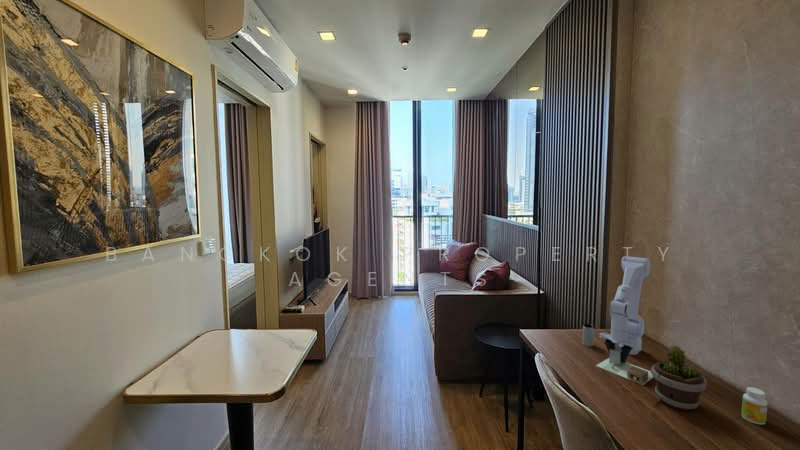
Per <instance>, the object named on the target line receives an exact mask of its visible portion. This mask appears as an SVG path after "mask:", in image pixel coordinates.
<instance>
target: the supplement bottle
mask: <svg viewBox="0 0 800 450" xmlns="http://www.w3.org/2000/svg"><path fill="white" fill-rule="evenodd" d="M768 406H769V405H768V401H767V400H766V392H765V391H764V390H761V389H760V388H757V387H753V386H752V387H751V386H748V387H746V393H743V394H742V402H741V416H742V418H743V419H744V420H746V421H748V422H751V423H752V424H757V425H766V422H767V414H768Z"/></svg>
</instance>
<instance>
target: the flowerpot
mask: <svg viewBox="0 0 800 450" xmlns="http://www.w3.org/2000/svg"><path fill="white" fill-rule="evenodd" d="M680 347H681V346H680V345H679V344H677V343H676V342H675V343H674V344H672V345H670V346H669V347H668V348H667V353H665V356H666V357H665V361H657V362H656V363H655V364H654V365H652V366H651V369H650V371H651V373H652V376H653V378H654V380H655V384H656V385H655V387H654V390H655V391H654V393H655V394H656V396H657V397H658V398H659V401H661V402H662V403H664V404H665V405H667V406H669V407H670V408H673V409H677V410H681V411H689V410H690V411H694V410H695V409H697V408H698V407H699V405H700V404H701V403H700V402H701V398H700V396H701V394H702V392H703V391H705V390H706V389H707V385H708V381H707V379H706V378H705V377H704V375H702V372H700V371H699V370H697V369H696V367H693V365H692V364H691V365H690V364H687V363H688V361H687V360H686V359H687V358H688V356H687V353H686V351H685V350H684V349H682V348H680ZM686 364H687V365H686Z"/></svg>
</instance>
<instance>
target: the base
mask: <svg viewBox="0 0 800 450" xmlns="http://www.w3.org/2000/svg"><path fill="white" fill-rule="evenodd" d="M633 366H634V367H637V368H640V369H642V370H645V371H648V379H647V380H646V381H645V382H643V383H640V382H639V379H638V381H634V380H633V377H632V378H628V377H627V372H628V369H630V368H631V367H633ZM595 367H598V368H600V369H602V370H606V371H608V372H610V373H612V374H615V375H618V376H619V377H620V376H621V377H623V378H625V379H628V380H629V381H632V382H635V383H637V384H639V385H642V386H644V385H645V384H646V383H648V382H649V381H650V380H652V379H653V378H654V377H653V376H652V373H651V370H648V369H645V368H642V367H640V366H637V365H635V364H631V363H629V362H627V361H626V363H622V364H621V366H620V367H619V366H617V365H614V363H609V357H608V358H606V359H604V360H603V361H601V362H599V363H597V364H596V365H595Z"/></svg>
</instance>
